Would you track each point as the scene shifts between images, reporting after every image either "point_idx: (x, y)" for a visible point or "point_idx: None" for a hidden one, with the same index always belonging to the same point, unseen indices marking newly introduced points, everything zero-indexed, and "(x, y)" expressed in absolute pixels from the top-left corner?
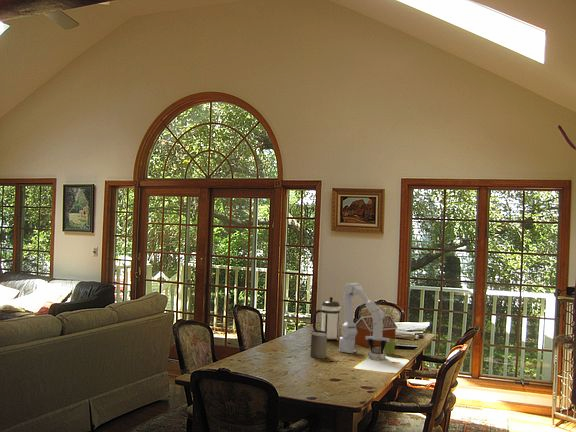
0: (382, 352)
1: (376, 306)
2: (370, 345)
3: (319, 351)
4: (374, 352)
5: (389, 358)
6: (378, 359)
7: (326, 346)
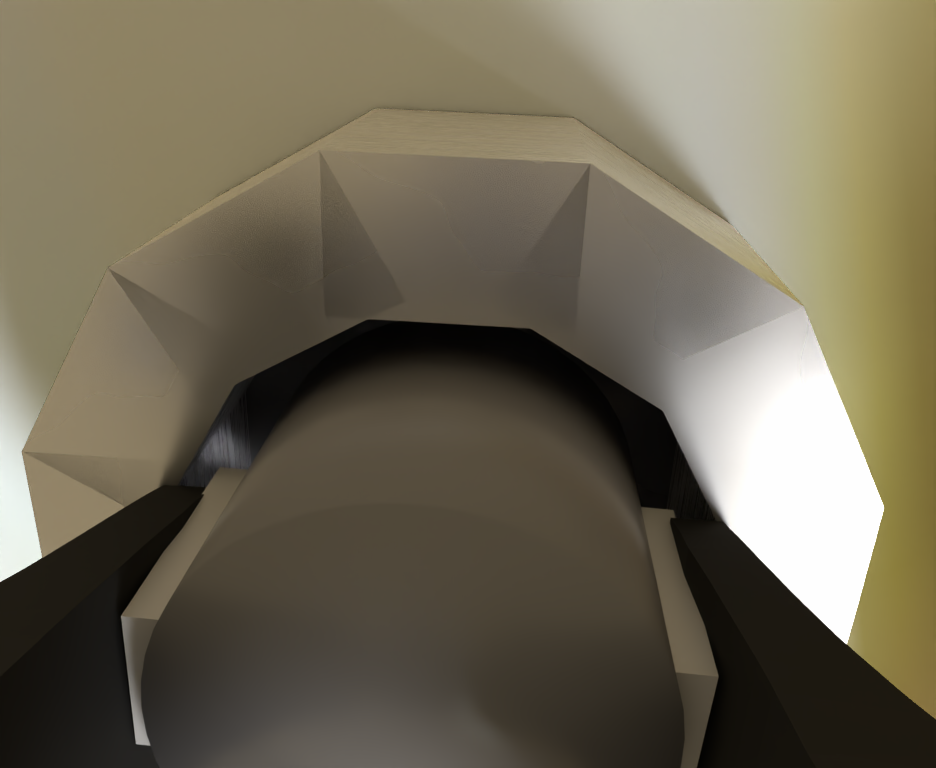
0: None
1: None
2: (927, 753)
3: None
4: (521, 401)
5: None
6: (297, 152)
7: None
